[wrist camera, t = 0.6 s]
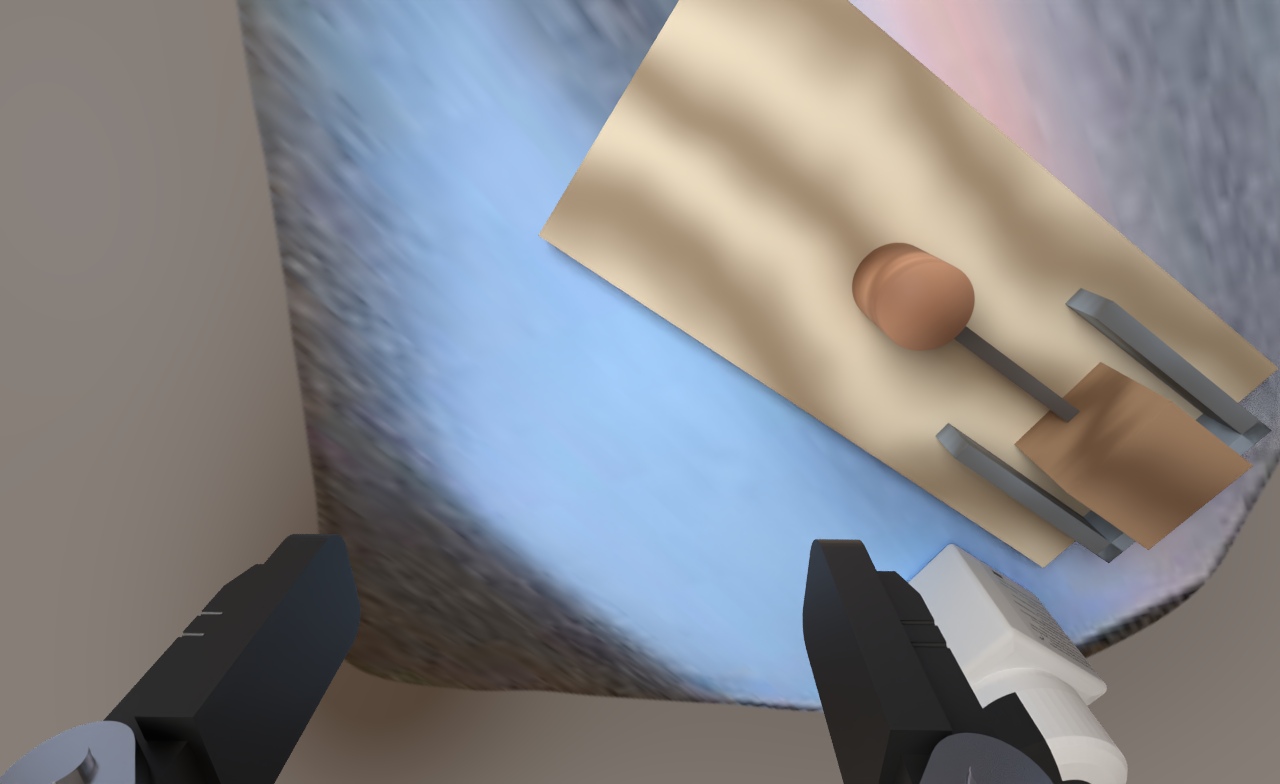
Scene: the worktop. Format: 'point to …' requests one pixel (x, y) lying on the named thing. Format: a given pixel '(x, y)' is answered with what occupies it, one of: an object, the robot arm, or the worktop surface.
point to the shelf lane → (865, 220)
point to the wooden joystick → (1063, 406)
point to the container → (1021, 668)
